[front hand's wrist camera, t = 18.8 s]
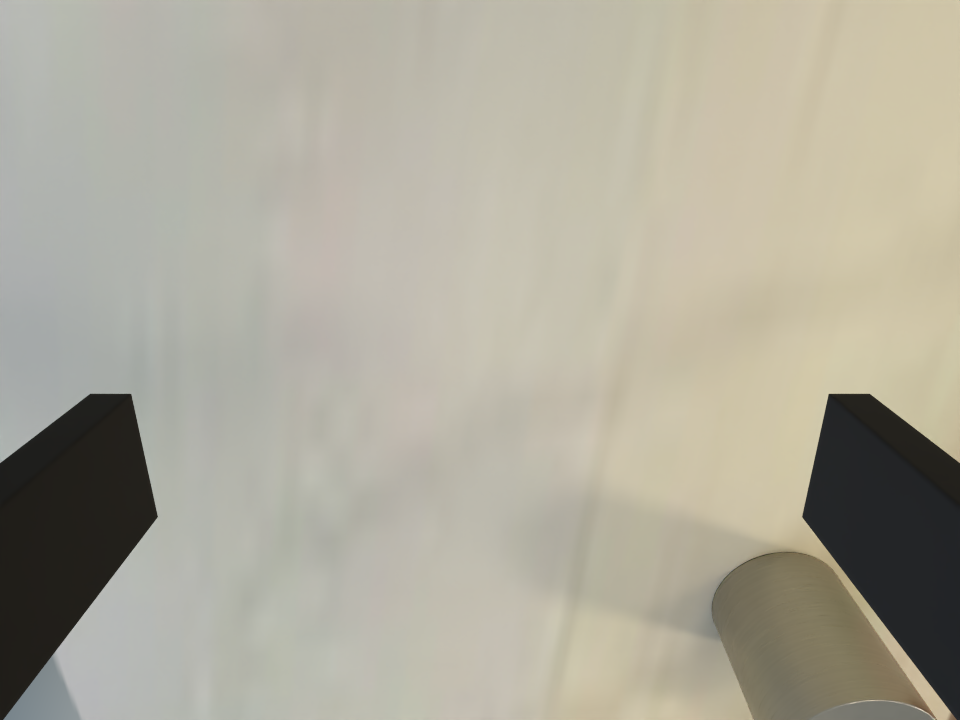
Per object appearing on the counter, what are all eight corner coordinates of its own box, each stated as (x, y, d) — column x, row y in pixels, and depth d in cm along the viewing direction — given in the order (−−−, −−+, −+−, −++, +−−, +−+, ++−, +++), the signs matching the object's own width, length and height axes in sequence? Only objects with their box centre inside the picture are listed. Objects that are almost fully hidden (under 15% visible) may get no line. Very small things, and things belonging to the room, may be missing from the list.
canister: (718, 660, 43) (781, 823, 34) (704, 565, 40) (770, 714, 31) (844, 639, 42) (945, 801, 33) (839, 541, 39) (949, 687, 30)
